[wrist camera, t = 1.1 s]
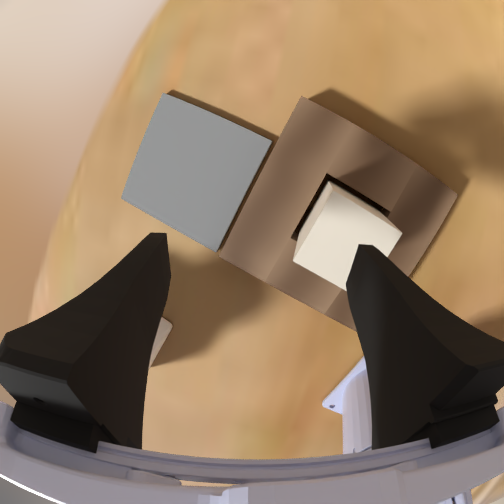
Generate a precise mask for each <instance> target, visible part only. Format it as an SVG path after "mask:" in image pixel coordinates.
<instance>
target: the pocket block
mask: <svg viewBox="0 0 504 504" xmlns="http://www.w3.org/2000/svg"><path fill="white" fill-rule="evenodd" d="M326 173H328V174H329V175H331V176H333V177H335V178H336V179H338V180H340V181H341V182H343V183H345V184H347V185H348V186H350V187H352V188H353V189H355V190H357V191H358V192H360V193H362V194H363V195H365V196H366V197H368V198H370V199H371V200H373V201H374V202H376V203H378V204H379V205H381V206H382V207H384V208H383V210H382V212H381V213H382V214H383V215H384V216H385V217H386V218H387V219H388V220H389V221H390V222H392V223H393V224H394V225H395V226H396V227H397V228H398V229H399V230H400V231H401V232H402V235H401V236H400V238H399V240H398V241H397V243H396V244H395V246H394V248H393V249H392V251H391V252H390V254H389V255H388V258H389V259H390V260H391V261H392V262H393V263H394V264H395V265H396V266H397V267H398V268H399V269H400V270H401V271H402V272H403V273H405V274H406V275H407V276H409V275H410V274H411V272H412V271H413V269H414V268H415V266H416V265H417V263H418V261H419V260H420V258H421V257H422V255H423V254H424V252H425V251H426V249H427V247H428V246H429V244H430V243H431V241H432V239H433V238H434V236H435V234H436V233H437V231H438V229H439V228H440V226H441V224H442V223H443V221H444V219H445V217H446V216H447V214H448V212H449V210H450V209H451V207H452V205H453V203H454V201H455V199H456V198H457V196H458V194H456V193H455V192H454V191H453V190H451V189H450V188H449V187H448V186H446V185H445V184H444V183H442V182H441V181H440V180H438V179H437V178H436V177H434V176H433V175H432V174H430V173H429V172H428V171H426V170H425V169H423V168H422V167H421V166H419V165H418V164H416V163H415V162H413V161H412V160H411V159H409V158H408V157H406V156H405V155H403V154H402V153H400V152H399V151H397V150H396V149H394V148H393V147H391V146H389V145H388V144H386V143H385V142H383V141H382V140H380V139H378V138H377V137H375V136H374V135H372V134H370V133H369V132H367V131H365V130H364V129H362V128H360V127H359V126H357V125H355V124H353V123H352V122H350V121H348V120H346V119H345V118H343V117H341V116H339V115H337V114H335V113H334V112H332V111H330V110H328V109H326V108H324V107H322V106H320V105H319V104H317V103H315V102H313V101H311V100H309V99H307V98H305V97H303V96H301V98H300V99H299V101H298V103H297V105H296V107H295V109H294V111H293V112H292V114H291V116H290V118H289V120H288V122H287V124H286V126H285V127H284V129H283V131H282V133H281V135H280V137H279V139H278V141H277V143H276V145H275V146H274V148H273V150H272V152H271V154H270V156H269V158H268V160H267V162H266V164H265V166H264V168H263V170H262V171H261V173H260V175H259V177H258V179H257V181H256V183H255V185H254V187H253V189H252V191H251V193H250V195H249V197H248V199H247V201H246V203H245V205H244V207H243V209H242V211H241V213H240V215H239V217H238V219H237V221H236V223H235V225H234V227H233V229H232V231H231V233H230V235H229V237H228V239H227V241H226V243H225V245H224V247H223V249H222V251H221V253H220V255H219V257H220V258H222V259H224V260H226V261H227V262H229V263H231V264H233V265H235V266H236V267H238V268H240V269H242V270H244V271H245V272H247V273H249V274H251V275H253V276H254V277H256V278H258V279H260V280H262V281H264V282H265V283H267V284H269V285H271V286H273V287H274V288H276V289H278V290H280V291H282V292H284V293H285V294H287V295H289V296H291V297H293V298H295V299H297V300H298V301H300V302H302V303H304V304H306V305H308V306H309V307H311V308H313V309H315V310H317V311H319V312H321V313H322V314H324V315H326V316H328V317H330V318H332V319H334V320H336V321H337V322H339V323H341V324H343V325H345V326H347V327H349V328H351V329H353V330H354V331H356V332H357V330H356V327H355V323H354V320H353V317H352V314H351V310H350V307H349V302H348V296H347V291H345V290H344V289H342V288H340V287H338V286H337V285H335V284H333V283H331V282H329V281H328V280H326V279H324V278H322V277H320V276H319V275H317V274H315V273H313V272H312V271H310V270H308V269H306V268H304V267H303V266H301V265H299V264H297V263H295V262H294V261H293V258H294V253H295V249H296V245H297V240H298V236H299V234H297V233H296V232H294V230H295V228H296V227H297V225H298V223H299V221H300V220H301V218H302V216H303V214H304V213H305V211H306V209H307V207H308V205H309V204H310V202H311V200H312V198H313V197H314V195H315V193H316V191H317V189H318V188H319V186H320V184H321V182H322V180H323V179H324V177H325V175H326Z"/></svg>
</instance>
